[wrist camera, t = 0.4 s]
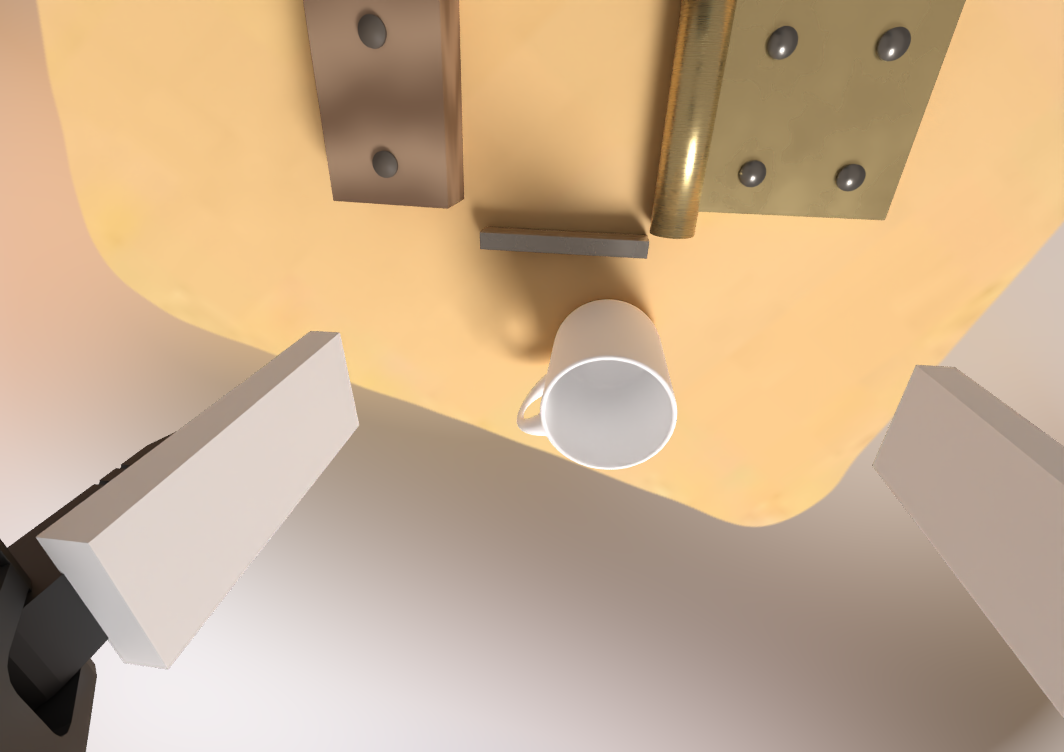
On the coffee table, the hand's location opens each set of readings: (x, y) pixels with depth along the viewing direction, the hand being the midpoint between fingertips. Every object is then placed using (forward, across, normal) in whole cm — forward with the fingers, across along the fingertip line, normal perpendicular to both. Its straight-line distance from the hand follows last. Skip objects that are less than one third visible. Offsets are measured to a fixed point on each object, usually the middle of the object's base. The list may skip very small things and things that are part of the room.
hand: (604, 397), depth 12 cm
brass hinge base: (+26, +5, +6) cm, 28 cm away
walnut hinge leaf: (+27, -14, +6) cm, 31 cm away
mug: (+27, 0, -12) cm, 29 cm away
